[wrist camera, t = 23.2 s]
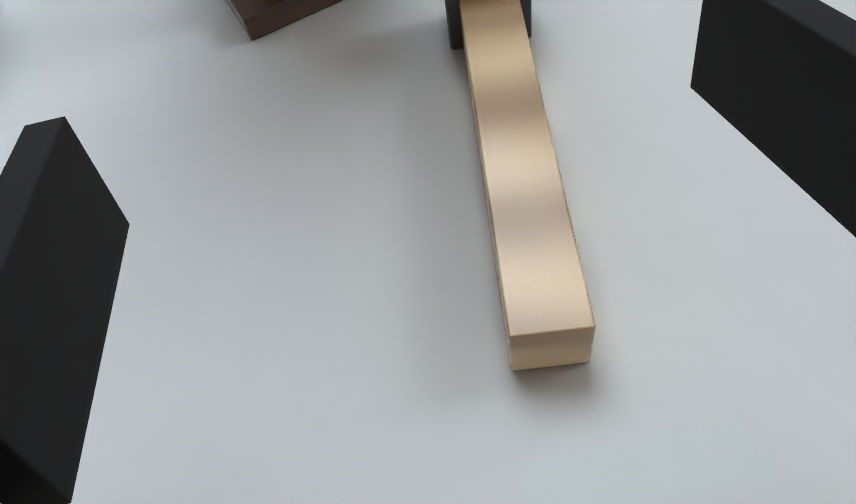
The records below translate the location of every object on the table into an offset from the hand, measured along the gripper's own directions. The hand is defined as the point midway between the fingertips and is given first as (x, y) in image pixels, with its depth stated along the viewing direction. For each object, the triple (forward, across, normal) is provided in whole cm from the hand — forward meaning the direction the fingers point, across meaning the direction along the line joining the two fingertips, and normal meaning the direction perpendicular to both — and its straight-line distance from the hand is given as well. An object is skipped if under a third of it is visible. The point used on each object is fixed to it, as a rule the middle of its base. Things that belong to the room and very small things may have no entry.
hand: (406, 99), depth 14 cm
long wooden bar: (+13, +6, -11) cm, 18 cm away
